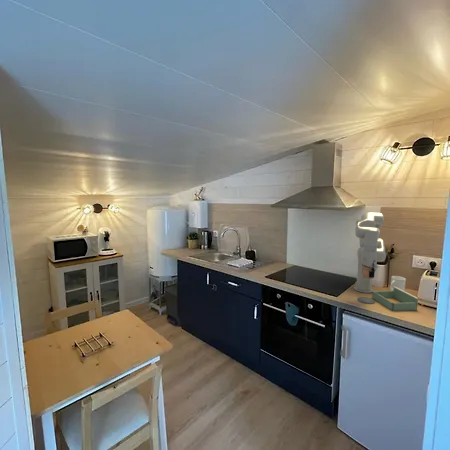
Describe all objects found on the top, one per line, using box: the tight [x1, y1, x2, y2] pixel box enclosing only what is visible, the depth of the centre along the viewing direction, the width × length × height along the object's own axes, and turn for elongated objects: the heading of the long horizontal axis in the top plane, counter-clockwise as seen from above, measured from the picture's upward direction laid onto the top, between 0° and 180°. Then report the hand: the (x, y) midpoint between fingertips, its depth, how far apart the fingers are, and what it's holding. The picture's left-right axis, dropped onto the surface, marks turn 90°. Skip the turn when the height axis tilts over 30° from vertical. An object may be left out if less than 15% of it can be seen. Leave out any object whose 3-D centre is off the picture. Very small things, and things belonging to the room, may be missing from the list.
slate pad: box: [357, 296, 376, 305], centre depth 172 cm, size 10×10×1 cm
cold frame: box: [371, 287, 419, 312], centre depth 168 cm, size 20×16×8 cm
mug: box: [389, 275, 407, 292], centre depth 186 cm, size 9×12×11 cm
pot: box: [362, 265, 374, 280], centre depth 170 cm, size 7×7×7 cm
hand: (368, 275), depth 170 cm, fingers closed on pot, 6 cm apart
